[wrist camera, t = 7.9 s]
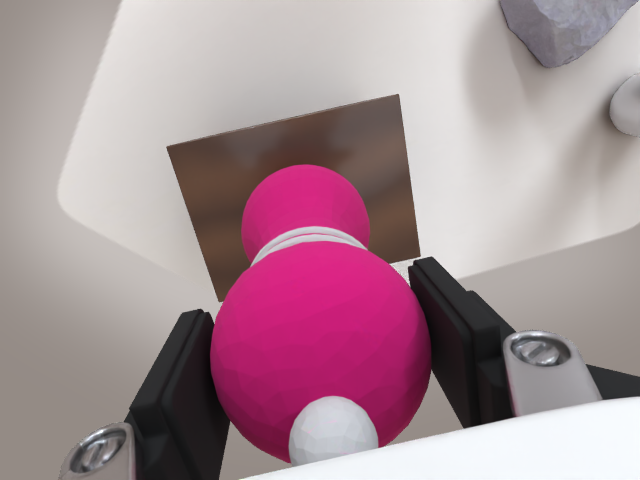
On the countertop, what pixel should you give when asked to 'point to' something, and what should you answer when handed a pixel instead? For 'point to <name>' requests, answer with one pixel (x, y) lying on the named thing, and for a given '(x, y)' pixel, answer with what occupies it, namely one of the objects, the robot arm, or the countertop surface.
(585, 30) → the stone block
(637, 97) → the silver metal bottle
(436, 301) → the robot arm
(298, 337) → the pepper mill
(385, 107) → the shelf
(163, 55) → the countertop surface
